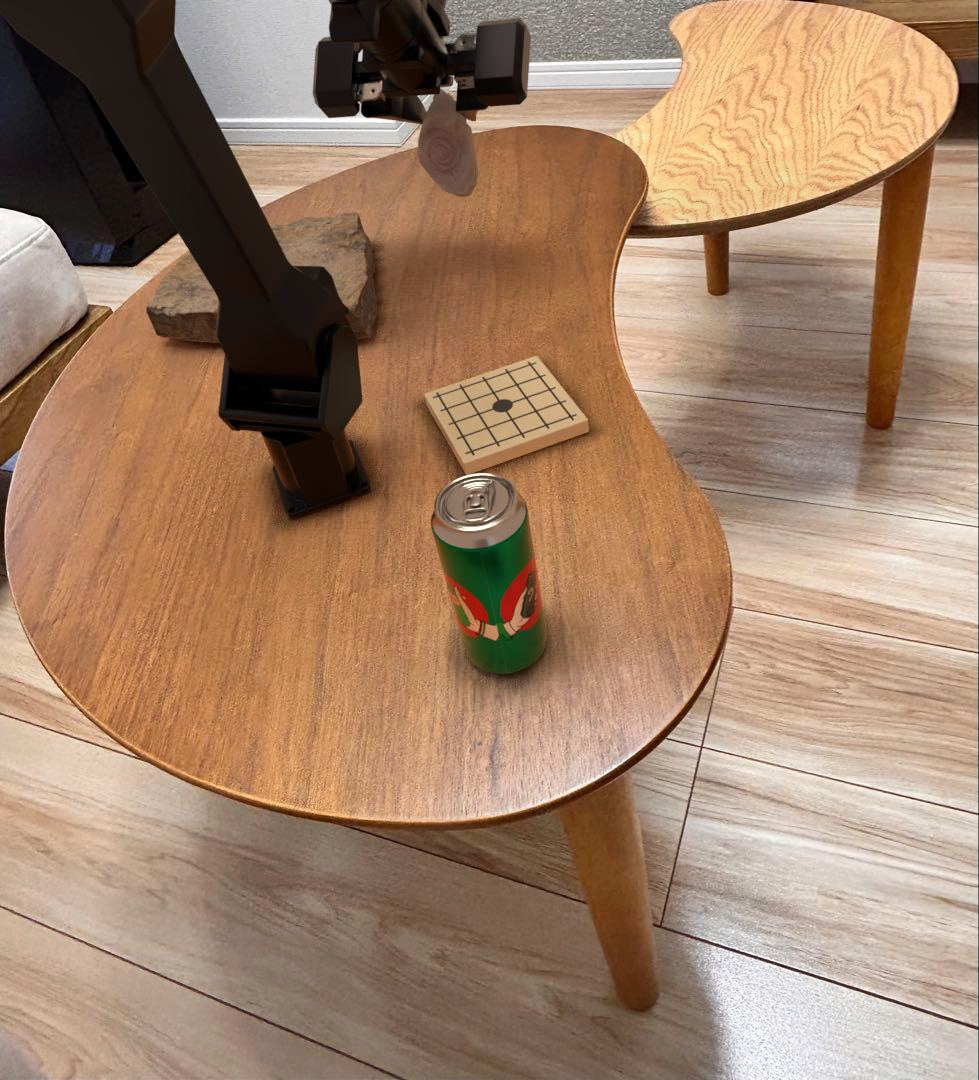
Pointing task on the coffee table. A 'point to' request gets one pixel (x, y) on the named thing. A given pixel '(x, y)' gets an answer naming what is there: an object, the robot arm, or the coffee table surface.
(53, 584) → the coffee table surface
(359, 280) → the stone
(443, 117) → the fossil
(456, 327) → the coffee table surface
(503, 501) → the soda can
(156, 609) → the coffee table surface
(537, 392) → the board
